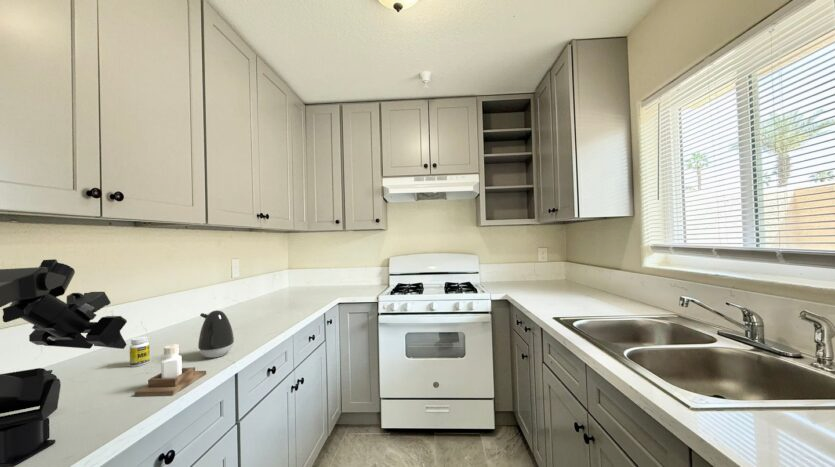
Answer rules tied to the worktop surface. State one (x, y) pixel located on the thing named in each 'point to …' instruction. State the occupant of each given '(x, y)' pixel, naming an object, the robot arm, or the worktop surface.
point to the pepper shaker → (171, 362)
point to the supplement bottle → (139, 351)
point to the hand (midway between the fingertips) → (107, 346)
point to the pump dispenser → (215, 335)
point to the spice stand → (170, 383)
